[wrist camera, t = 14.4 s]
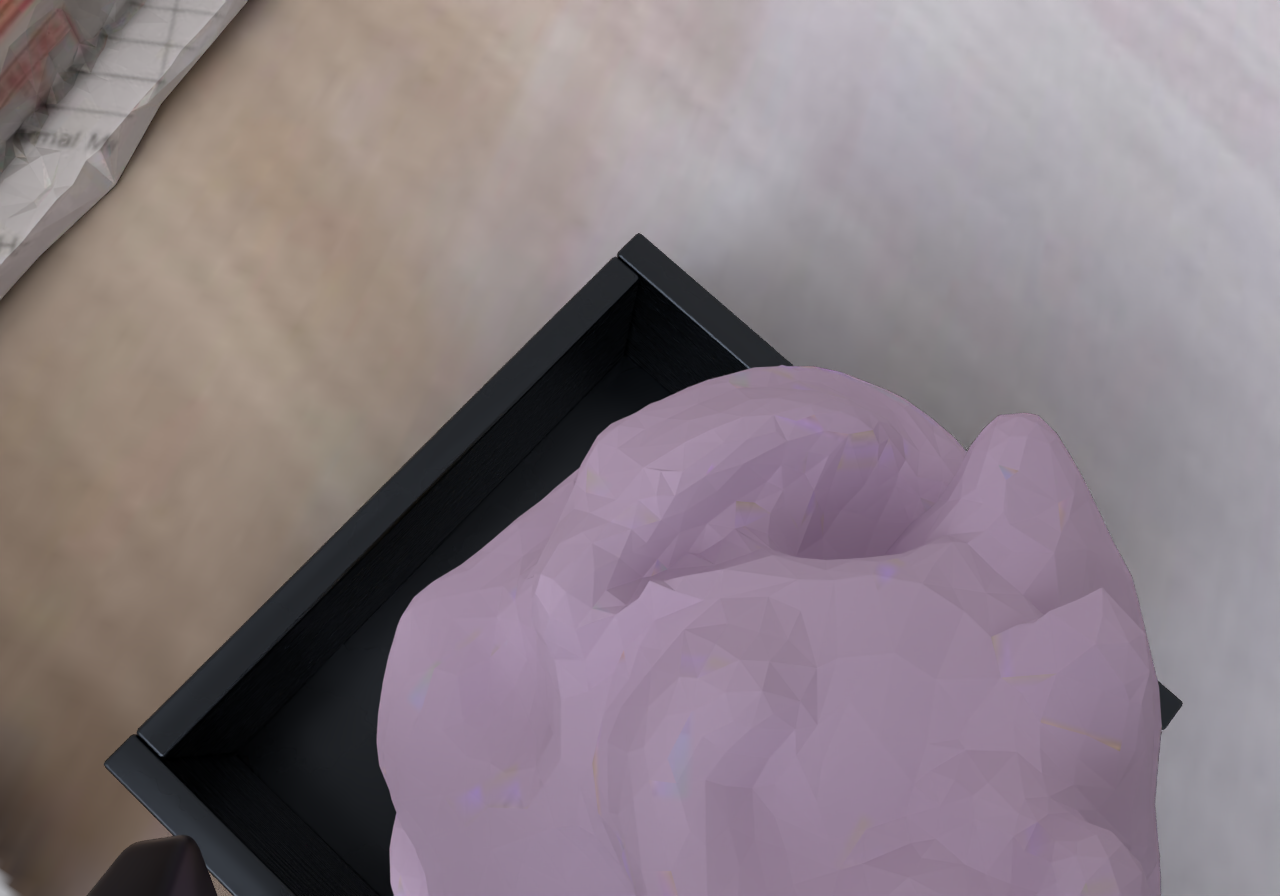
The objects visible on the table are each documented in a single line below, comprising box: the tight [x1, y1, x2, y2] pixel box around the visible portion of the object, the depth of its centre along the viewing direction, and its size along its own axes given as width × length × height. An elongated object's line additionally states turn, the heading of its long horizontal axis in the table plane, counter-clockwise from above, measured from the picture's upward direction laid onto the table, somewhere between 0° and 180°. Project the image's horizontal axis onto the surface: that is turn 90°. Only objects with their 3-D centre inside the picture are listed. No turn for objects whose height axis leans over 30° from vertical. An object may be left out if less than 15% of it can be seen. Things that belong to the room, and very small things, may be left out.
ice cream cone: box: [376, 365, 1162, 896], centre depth 13 cm, size 7×6×15 cm
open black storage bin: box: [104, 233, 1183, 896], centre depth 19 cm, size 12×12×4 cm
